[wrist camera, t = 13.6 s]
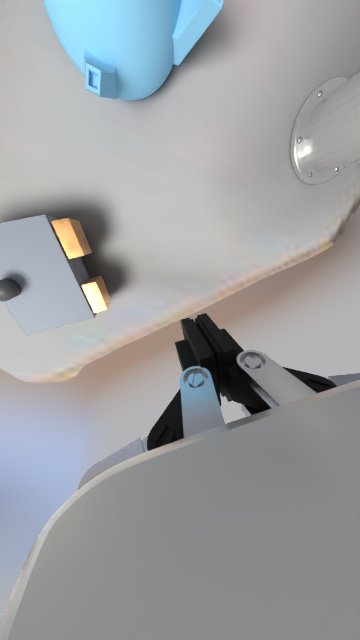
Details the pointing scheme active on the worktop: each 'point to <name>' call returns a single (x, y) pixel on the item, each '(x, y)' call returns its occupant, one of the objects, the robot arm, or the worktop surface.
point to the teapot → (129, 40)
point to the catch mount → (40, 277)
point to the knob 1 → (71, 237)
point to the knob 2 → (96, 293)
